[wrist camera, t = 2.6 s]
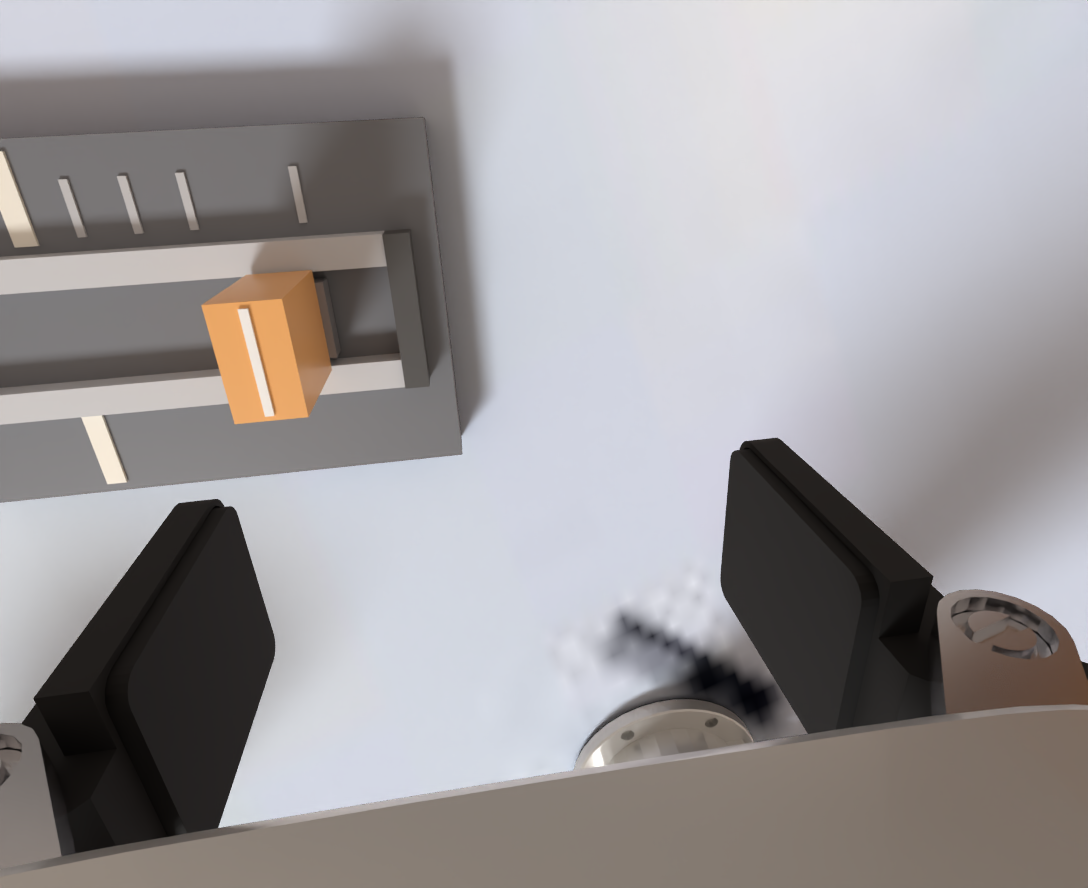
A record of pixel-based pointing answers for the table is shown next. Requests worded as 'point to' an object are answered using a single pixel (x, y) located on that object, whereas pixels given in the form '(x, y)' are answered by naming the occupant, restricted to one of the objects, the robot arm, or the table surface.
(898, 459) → the table surface
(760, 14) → the table surface
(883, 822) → the robot arm
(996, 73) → the table surface
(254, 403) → the fader
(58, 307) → the console
